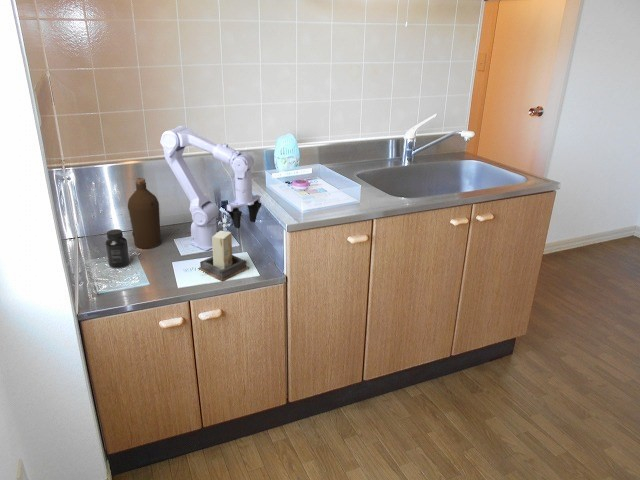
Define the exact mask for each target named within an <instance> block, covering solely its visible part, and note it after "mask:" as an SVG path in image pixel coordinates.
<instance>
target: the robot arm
mask: <svg viewBox="0 0 640 480" xmlns="http://www.w3.org/2000/svg"><path fill="white" fill-rule="evenodd" d="M159 143H160V145H161V146H162V149H163V154H164V155H163V156H164V159H165V161H166V162H167V165H168V166H169V168H170V170H171V171H172V173H173V174H174V176H175V179H177V181H178V183H179V185H180V187H181V188H182V190H183V192H184V193H185V195H186V197H187V199H188V200H189V202H190V204H189V211H190V213H191V219H192V222H191V226H190V236H191V241H190V242H189V244H190V245H192V246H195V247H196V248H198V249H200V250H203V251H209V250H213V248H212V237H213V236H214V235H215V234H216V233H218V231H217V216H218V215H219V212H220V211H219V210H220V209H219V206H218V205H217V204H216V203H215V202H213V200H212V199H211V198H210V197H209V196H207V195H205V194H204V192H203V191H202V189H201V188H200V185H199V183H198V182H197V180H196V178H195V177H194V174H193V173H192V171H191V169H190V168H189V166H188V165H187V163H186V160H185V159H184V157H183V153H184V151H185V148H186V147H189V146H193V147H195V148H198V149H200V150H201V151H202V150H203V151H205V152H208V153H210V154H212V155H213V158H214V160H217V161H219V162H221V163H223V164H225V165H227V166H229V167H231V169H232V170H233V172H234V183H235V184H234V185H235V186H234V187H235V189H234V190H235V200H232V202H230V203H229V204H227V205H226V212H227V213H228V215H229V216H230V219H231V220H232V224H233V226H234V228H235V229H238V230H239V229H241V217H242V213H243V211H241V210H239V208H242V207H246V206H247V209H248V215H249V216H248V217H249V221H250V222H252V223H256V221H257V217H258V212H259V210H260V208H261V207H262V202H261V201H260V198H261V197H262V196H261V195H259V194H255V195H253V177H252V175H253V174H252V168H253V166H254V162H255V161H254V157H253V156H252V154H250V153H249V152H247V151H243V152H242V151H240V149H238V150H236V149H235V148H233V147H230V146H229V144H227V143H219V144H216V143H214V142H213V141H211V140H209V139H207V138H205V137H203V136H202V135H199V134H198V133H196V132H195V131H194V130H193V129H191V128H189V127H187V126H184V125H179V126H177V127H174V128H173V129H170V130H166V131H164V132H163V133H162V135H161V137H160V141H159Z"/></svg>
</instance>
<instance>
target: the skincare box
mask: <svg viewBox="0 0 640 480" xmlns="http://www.w3.org/2000/svg"><path fill="white" fill-rule="evenodd" d="M232 238H233V237H232V232H231V231H225V230H219V231H217V233H216V234H215V235H214V236H213V237H212V257H213V266H215V267H218V268H220V269H222V270H223V269H225V268H227V267H229V266H231V265H232V255H233V245H232V244H233V243H232V242H233V241H232Z"/></svg>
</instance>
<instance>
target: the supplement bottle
mask: <svg viewBox="0 0 640 480" xmlns="http://www.w3.org/2000/svg"><path fill="white" fill-rule="evenodd" d="M106 237H107V238H106V240H105V242H104V244H105V252H106V257H107V264H108V266H109V267H110V268H112V269H121V268H125V267H127V266H129V264H130V254H129V247H128V240H127V238H125V237H124V235H123V230H122V229H119V228H118V229H116V228H115V229H110V230H108V231H107V232H106Z"/></svg>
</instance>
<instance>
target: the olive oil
mask: <svg viewBox="0 0 640 480" xmlns="http://www.w3.org/2000/svg"><path fill="white" fill-rule="evenodd" d="M135 186H136V187H135V188H136V189H135V191H134V192H133V193H132V194H131V196H130V197H129V198H128V201H127V210H128V215H129V216H128V217H129V219H130V225H131V226H130V227H131V231H132V237H133V241H134V242H133V244H134V246H135V247H136V248H138V249H142V250H143V249H145V250H147V249H155V248H156V247H158V246H160V245H161V244H162V235H161V221H160V220H161V219H160V218H161V216H160V203H159V200H158V198H157V196H156V195H154V193H152V192H151V191H150V190H148V189H147V183H146V179H145V177H138V178H135Z"/></svg>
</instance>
